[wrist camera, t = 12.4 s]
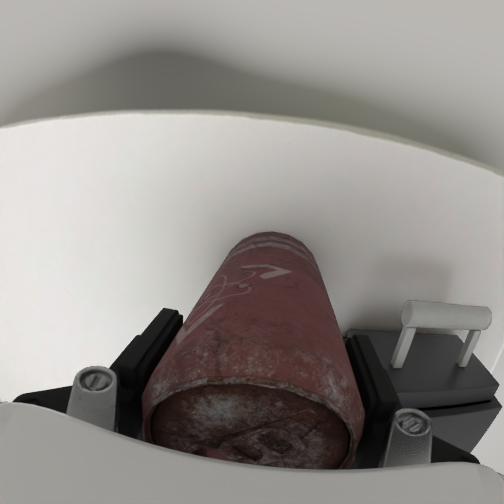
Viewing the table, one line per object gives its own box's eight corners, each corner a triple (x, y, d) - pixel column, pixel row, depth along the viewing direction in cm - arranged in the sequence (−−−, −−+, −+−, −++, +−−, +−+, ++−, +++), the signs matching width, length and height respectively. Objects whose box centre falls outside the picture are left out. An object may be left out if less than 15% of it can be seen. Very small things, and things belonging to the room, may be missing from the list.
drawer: (362, 271, 18) (399, 320, 12) (473, 285, 17) (527, 326, 11) (312, 439, 22) (315, 501, 16) (405, 437, 21) (423, 490, 15)
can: (216, 311, 21) (136, 486, 7) (233, 221, 19) (122, 335, 5) (303, 330, 20) (316, 520, 7) (328, 242, 19) (416, 392, 5)
